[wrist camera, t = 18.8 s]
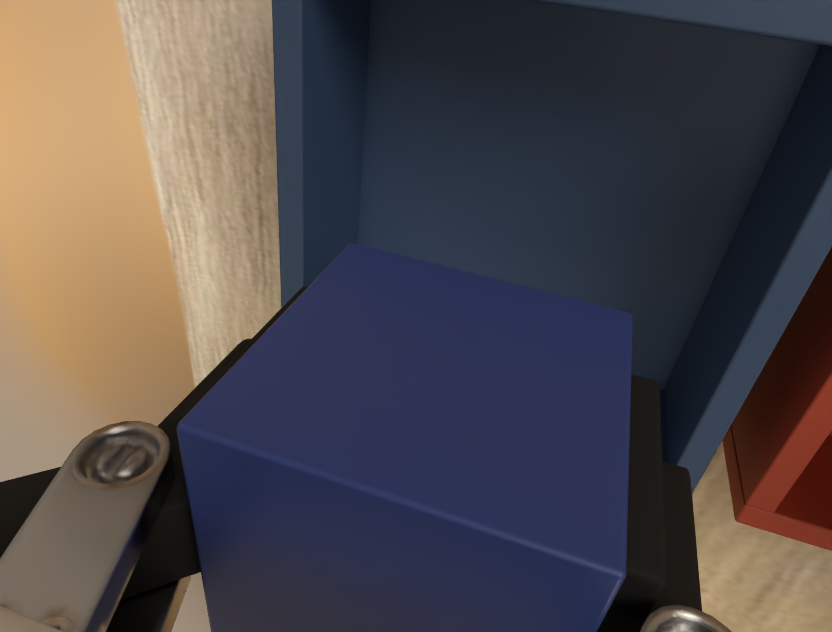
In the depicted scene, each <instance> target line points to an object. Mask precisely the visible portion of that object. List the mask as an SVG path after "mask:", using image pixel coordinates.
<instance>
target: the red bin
mask: <svg viewBox="0 0 832 632" xmlns="http://www.w3.org/2000/svg"><path fill="white" fill-rule="evenodd" d="M723 446H724V452H725V459H726V465H727V471H728V478H729V484H730V491H731V497H732V504H733V510H734V516H735V520H736V521H737V522H740V523H743V524H746V525H750V526H753V527H756V528H759V529H763V530H766V531H769V532H772V533H776V534H779V535H782V536H785V537H789V538H792V539H795V540H798V541H802V542H805V543H808V544H811V545H815V546H818V547H821V548H824V549H828V550H831V551H832V247H831V249H830V251H829V252H828V254H827V256H826V258H825V259H824V261H823V263H822V265H821V267H820V268H819V270H818V272H817V274H816V275H815V277H814V279H813V281H812V282H811V284H810V286H809V288H808V290H807V291H806V293H805V295H804V297H803V298H802V300H801V302H800V304H799V305H798V307H797V309H796V311H795V313H794V314H793V316H792V318H791V320H790V321H789V323H788V325H787V327H786V328H785V330H784V332H783V334H782V336H781V337H780V339H779V341H778V343H777V344H776V346H775V348H774V350H773V351H772V353H771V355H770V357H769V359H768V360H767V362H766V364H765V366H764V367H763V369H762V371H761V373H760V374H759V376H758V378H757V380H756V382H755V383H754V385H753V387H752V389H751V390H750V392H749V394H748V396H747V397H746V399H745V401H744V403H743V404H742V406H741V408H740V410H739V412H738V413H737V415H736V417H735V419H734V420H733V422H732V424H731V426H730V427H729V429H728V431H727V433H726V435H725V436H724V438H723Z"/></svg>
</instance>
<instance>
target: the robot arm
mask: <svg viewBox="0 0 832 632" xmlns="http://www.w3.org/2000/svg"><path fill="white" fill-rule="evenodd" d="M306 288H307V287H302V288H301V289H300V290H299V291H298V292H297V293H296V294H295V295H294V296H293V297H292V298H291V299H290V300H289V301H288V302H287V303H286V304H285V305H284V306H283V307H282V308H281V309H280V310H279V311H278V312H277V313H276V314H275V316H274V317H273V318H272V319H271V320H270V321H269V322H268V323H267V324H266V325H265V326H264V327H263V328H262V329H261V330H260V331H259V332H258V333H257V334H256V335H255V336H254V337H253V338H252V339H246V340H243V341H242V342H241V343H240V344H238V345H237V346H236V347H235V348H234V349H233V350H232V351H231V352H230V353H229V354H228V355H227V356H226V357H225V358H224V359H223V360H222V361H221V363H220V364H219V365H218V366H217V367H216V368H215V369H214V370H213V371H212V372H211V373H210V374H209V375H208V376H207V377H206V378H205V379H204V380H203V381H202V382H201V383H200V384H199V385H198V386H197V387H196V388H195V389H194V390H193V391H192V392H191V393H190V394H189V395H188V396H187V397H186V398H185V399H184V400H183V401H182V402H181V403H180V404H179V405H178V406H177V407H176V408H175V409H174V410H173V411H172V412H171V413H170V414H169V415H168V416H167V417H166V418H165V419H164V420H163V421H162V422H161V423H160V424H159V425H158V426H155V425H153V424H150V423H145V422H141V421H124V422H120V423H116V424H111V425H108V426H105V427H103V428H101V429H98V430H96V431H94V432H93V433H91V434H90V435H88V436H87V437H85V438H84V439H82V440H81V441H80V443H79V444H78V445H77V446H76V447H75V448H74V449H73V450H72V452H71V453H70V455H69V456H68V458H67V459H66V461H65V462H64V464H63V465H62V467H58V468H55V469H51V470H47V471H43V472H39V473H35V474H31V475H27V476H23V477H19V478H15V479H11V480H7V481H4V482H0V632H171V631H172V628H173V626H174V623H175V620H176V617H177V615H178V612H179V609H180V606H181V604H182V601H183V598H184V595H185V592H186V590H187V587H188V584H189V582H190V579H191V575H193V574H196V573H199V572H201V569H200V563H199V558H198V552H197V546H196V540H195V534H194V529H193V523H192V517H191V511H190V505H189V500H188V494H187V488H186V482H185V476H184V470H183V465H182V459H181V453H180V447H179V441H178V436H177V430H176V429H177V426H178V423H179V422H180V421H181V420H182V419H183V418H184V416H185V415H186V414H187V413H188V412H189V411H190V410H191V409H192V408H193V407H194V406H195V405H196V404H197V403H198V402H199V401H200V400H201V399H202V398H203V397H204V395H205V394H206V393H207V392H208V391H209V390H210V389H211V388H212V387H213V386H214V385H215V384H216V383H217V382H218V381H219V380H220V379H221V378H222V377H223V376H224V375H225V373H226V372H227V371H228V370H229V369H230V368H231V367H232V366H233V365H234V364H235V363H236V362H237V361H238V360H239V359H240V358H241V357H242V356H243V355H244V354H245V352H246V351H247V350H248V349H249V348H250V347H251V346H252V345H253V344H254V343H255V342H256V341H257V340H258V339H259V338H260V337H261V336H262V335H263V334H264V333H265V331H266V330H267V329H268V328H269V327H270V326H271V325H272V324H273V323H274V322H275V321H276V320H277V319H278V318H279V317H280V316H281V315H282V314H283V313H284V312H285V310H286V309H287V308H288V307H289V306H290V305H291V304H292V303H293V302H294V301H295V300H296V299H297V298H298V297H299V296H300V295H301V294H302V293H303V292H304V291H305V289H306ZM597 632H731V631H730V630H729V629H728V628H727V627H726V626H724V625H723V624H722V623H720V622H719V621H718V620H716V619H715V618H713V617H712V616H711V615H708V614H706V613H704V612H702V606H701V594H700V583H699V571H698V559H697V548H696V536H695V525H694V513H693V501H692V490H691V479H690V474H689V471H688V470H687V468H685V467H681V466H678V465H674V464H671V463H668V462H664V461H662V445H661V416H660V388H659V383H658V382H657V381H653V380H649V379H646V378H642V377H638V376H634V375H631V405H630V443H629V481H628V519H627V558H626V577H625V579H624V581H623V583H622V585H621V587H620V589H619V590H618V592H617V594H616V596H615V598H614V600H613V602H612V604H611V606H610V607H609V609H608V611H607V613H606V615H605V617H604V619H603V621H602V623H601V624H600V626H599V628H598V630H597Z"/></svg>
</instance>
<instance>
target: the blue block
mask: <svg viewBox="0 0 832 632" xmlns="http://www.w3.org/2000/svg"><path fill="white" fill-rule="evenodd" d="M632 329H633V316H632V314H631V313H629V312H626V311H622V310H618V309H614V308H610V307H606V306H602V305H598V304H594V303H590V302H586V301H582V300H578V299H574V298H570V297H566V296H562V295H558V294H554V293H550V292H546V291H542V290H538V289H534V288H530V287H526V286H522V285H518V284H514V283H510V282H506V281H502V280H498V279H494V278H490V277H486V276H482V275H478V274H474V273H470V272H466V271H462V270H458V269H454V268H450V267H446V266H442V265H438V264H434V263H430V262H426V261H422V260H418V259H414V258H410V257H406V256H402V255H398V254H394V253H390V252H386V251H382V250H378V249H374V248H370V247H366V246H362V245H358V244H354V243H350V244H348V245H347V246H346V247H345V249H344V250H343V251H342V252H341V253H340V254H339V255H338V256H337V257H336V258H335V259H334V260H333V261H332V262H331V263H330V264H329V265H328V266H327V267H326V268H325V270H324V271H323V272H322V273H321V274H320V275H319V276H318V277H317V278H316V279H315V280H314V281H313V282H312V283H311V284H310V285H309V286H308V287H307V288H306V289H305V291H304V292H303V293H302V294H301V295H300V296H299V297H298V298H297V299H296V300H295V301H294V302H293V303H292V304H291V305H290V306H289V307H288V308H287V309H286V310H285V312H284V313H283V314H282V315H281V316H280V317H279V318H278V319H277V320H276V321H275V322H274V323H273V324H272V325H271V326H270V327H269V328H268V329H267V330H266V331H265V333H264V334H263V335H262V336H261V337H260V338H259V339H258V340H257V341H256V342H255V343H254V344H253V345H252V346H251V347H250V348H249V349H248V350H247V351H246V352H245V354H244V355H243V356H242V357H241V358H240V359H239V360H238V361H237V362H236V363H235V364H234V365H233V366H232V367H231V368H230V369H229V370H228V371H227V372H226V373H225V375H224V376H223V377H222V378H221V379H220V380H219V381H218V382H217V383H216V384H215V385H214V386H213V387H212V388H211V389H210V390H209V391H208V392H207V393H206V394H205V395H204V397H203V398H202V399H201V400H200V401H199V402H198V403H197V404H196V405H195V406H194V407H193V408H192V409H191V410H190V411H189V412H188V413H187V414H186V415H185V416H184V418H183V419H182V420H181V421H180V422H179V423H178V426H177V429H176V430H177V436H178V441H179V447H180V453H181V459H182V465H183V470H184V476H185V482H186V488H187V494H188V500H189V505H190V511H191V517H192V523H193V529H194V534H195V540H196V546H197V552H198V558H199V563H200V569H201V575H202V581H203V587H204V592H205V598H206V604H207V609H208V616H209V621H210V627H211V632H597V630H598V628H599V626H600V624H601V623H602V621H603V619H604V617H605V615H606V613H607V611H608V609H609V607H610V606H611V604H612V602H613V600H614V598H615V596H616V594H617V592H618V590H619V589H620V587H621V585H622V583H623V581H624V579H625V577H626V558H627V519H628V481H629V443H630V405H631V367H632Z"/></svg>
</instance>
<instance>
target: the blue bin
mask: <svg viewBox="0 0 832 632" xmlns="http://www.w3.org/2000/svg"><path fill="white" fill-rule="evenodd" d="M272 18H273V50H274V82H275V114H276V146H277V179H278V211H279V243H280V275H281V307H283V306H284V305H285V304H286V303H287V302H288V301H289V300H290V299H291V298H292V297H293V296H294V295H295V294H296V293H297V292H298V291H299V290H300V289H301V288H302V287H308V286H309V285H310V284H311V283H312V282H313V281H314V280H315V279H316V278H317V277H318V276H319V275H320V274H321V273H322V272H323V271H324V270H325V268H326V267H327V266H328V265H329V264H330V263H331V262H332V261H333V260H334V259H335V258H336V257H337V256H338V255H339V254H340V253H341V252H342V251H343V250H344V249H345V247H346V246H347V245H348V244H350V243H354V244H358V245H362V246H366V247H370V248H374V249H378V250H382V251H386V252H390V253H394V254H398V255H402V256H406V257H410V258H414V259H418V260H422V261H426V262H430V263H434V264H438V265H442V266H446V267H450V268H454V269H458V270H462V271H466V272H470V273H474V274H478V275H482V276H486V277H490V278H494V279H498V280H502V281H506V282H510V283H514V284H518V285H522V286H526V287H530V288H534V289H538V290H542V291H546V292H550V293H554V294H558V295H562V296H566V297H570V298H574V299H578V300H582V301H586V302H590V303H594V304H598V305H602V306H606V307H610V308H614V309H618V310H622V311H626V312H629V313H631V314H632V316H633V329H632V367H631V375H634V376H638V377H642V378H646V379H649V380H653V381H657V382H658V383H659V388H660V416H661V445H662V461H664V462H668V463H671V464H674V465H678V466H681V467H685V468H687V470H688V471H689V474H690V479H691V490H692V494H693V492H694V488H696V486H697V484H698V482H699V481H700V479H701V477H702V475H703V473H704V472H705V470H706V468H707V466H708V465H709V463H710V461H711V459H712V458H713V456H714V454H715V452H716V450H717V449H718V447H719V445H720V443H721V442H722V440H723V438H724V436H725V435H726V433H727V431H728V429H729V427H730V426H731V424H732V422H733V420H734V419H735V417H736V415H737V413H738V412H739V410H740V408H741V406H742V404H743V403H744V401H745V399H746V397H747V396H748V394H749V392H750V390H751V389H752V387H753V385H754V383H755V382H756V380H757V378H758V376H759V374H760V373H761V371H762V369H763V367H764V366H765V364H766V362H767V360H768V359H769V357H770V355H771V353H772V351H773V350H774V348H775V346H776V344H777V343H778V341H779V339H780V337H781V336H782V334H783V332H784V330H785V328H786V327H787V325H788V323H789V321H790V320H791V318H792V316H793V314H794V313H795V311H796V309H797V307H798V305H799V304H800V302H801V300H802V298H803V297H804V295H805V293H806V291H807V290H808V288H809V286H810V284H811V282H812V281H813V279H814V277H815V275H816V274H817V272H818V270H819V268H820V267H821V265H822V263H823V261H824V259H825V258H826V256H827V254H828V252H829V251H830V249H831V247H832V0H272Z"/></svg>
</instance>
